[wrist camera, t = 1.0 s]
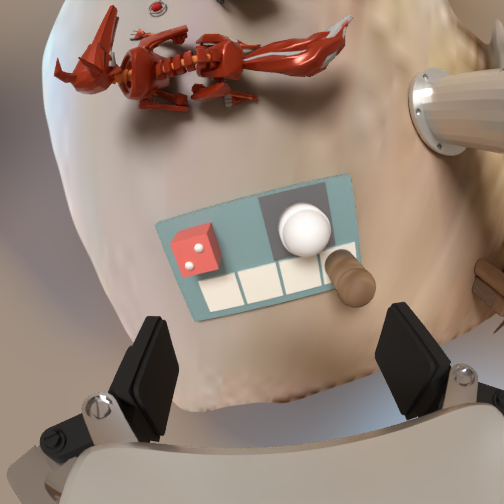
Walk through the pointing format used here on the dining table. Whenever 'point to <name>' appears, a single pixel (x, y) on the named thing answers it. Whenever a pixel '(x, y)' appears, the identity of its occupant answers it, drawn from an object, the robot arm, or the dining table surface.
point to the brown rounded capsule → (350, 278)
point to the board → (255, 249)
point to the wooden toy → (489, 285)
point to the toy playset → (194, 62)
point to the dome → (304, 229)
